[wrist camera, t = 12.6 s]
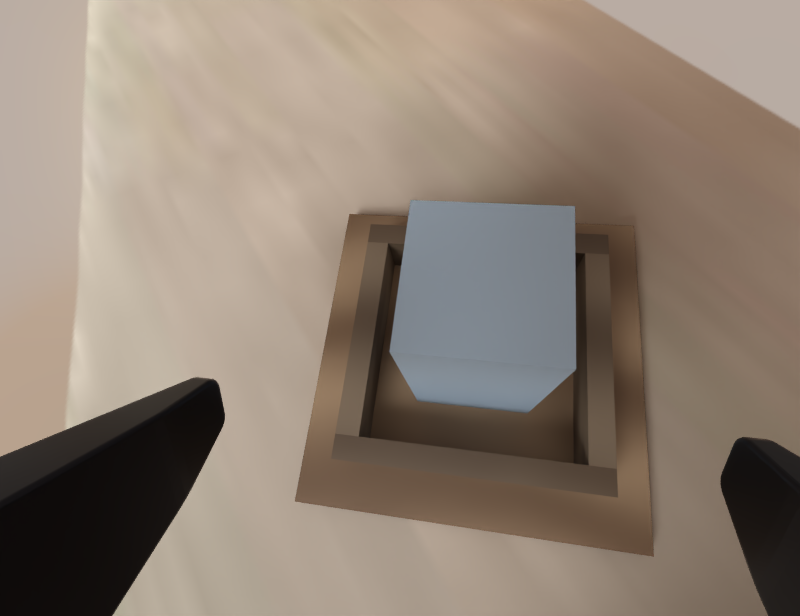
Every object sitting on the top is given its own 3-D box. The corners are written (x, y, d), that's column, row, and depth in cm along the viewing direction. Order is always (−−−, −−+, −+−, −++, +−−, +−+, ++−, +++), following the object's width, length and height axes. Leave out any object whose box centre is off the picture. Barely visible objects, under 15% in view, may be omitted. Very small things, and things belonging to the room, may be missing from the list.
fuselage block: (527, 413, 20) (576, 369, 12) (417, 401, 21) (389, 351, 12) (530, 309, 22) (575, 206, 13) (428, 302, 22) (410, 200, 14)
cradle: (645, 553, 18) (682, 568, 15) (300, 500, 21) (273, 504, 18) (628, 233, 23) (653, 198, 20) (352, 221, 26) (338, 188, 23)
